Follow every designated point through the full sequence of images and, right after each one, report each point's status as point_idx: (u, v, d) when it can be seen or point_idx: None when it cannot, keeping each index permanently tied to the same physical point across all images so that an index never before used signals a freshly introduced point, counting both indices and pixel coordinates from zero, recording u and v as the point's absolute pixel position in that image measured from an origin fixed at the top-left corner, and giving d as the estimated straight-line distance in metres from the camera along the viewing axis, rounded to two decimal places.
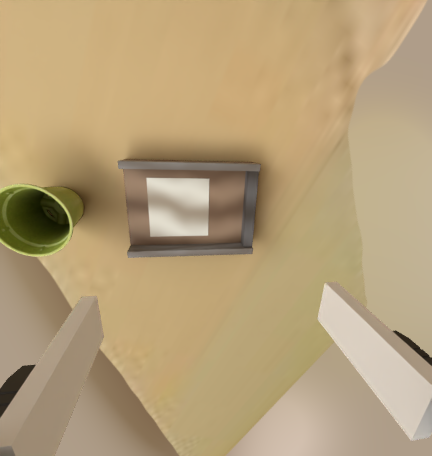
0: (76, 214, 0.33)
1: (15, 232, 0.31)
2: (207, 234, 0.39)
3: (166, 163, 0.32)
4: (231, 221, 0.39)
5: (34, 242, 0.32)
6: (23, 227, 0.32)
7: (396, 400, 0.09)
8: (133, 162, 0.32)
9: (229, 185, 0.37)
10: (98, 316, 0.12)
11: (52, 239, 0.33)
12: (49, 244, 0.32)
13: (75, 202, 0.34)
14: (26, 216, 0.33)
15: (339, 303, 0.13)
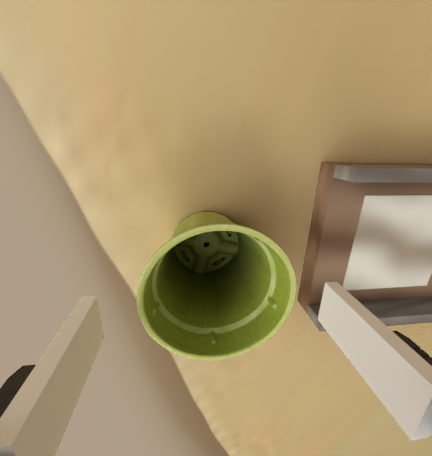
0: (257, 265, 0.18)
1: (166, 310, 0.16)
2: (425, 284, 0.24)
3: None
4: None
5: (194, 324, 0.17)
6: (170, 294, 0.17)
7: (396, 400, 0.09)
8: (383, 170, 0.16)
9: None
10: (98, 316, 0.12)
11: (216, 313, 0.18)
12: (220, 325, 0.17)
13: None
14: (166, 270, 0.18)
15: (339, 303, 0.13)
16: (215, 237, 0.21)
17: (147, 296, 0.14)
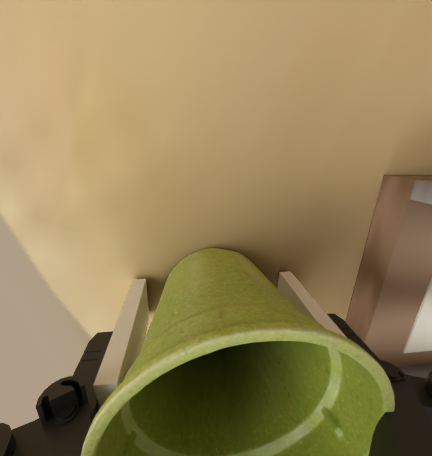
0: (297, 340, 0.11)
1: (149, 438, 0.09)
2: None
3: None
4: None
5: (198, 449, 0.10)
6: (157, 396, 0.10)
7: None
8: None
9: None
10: (146, 297, 0.14)
11: (232, 418, 0.11)
12: (241, 448, 0.10)
13: None
14: None
15: (288, 290, 0.14)
16: None
17: (107, 448, 0.07)
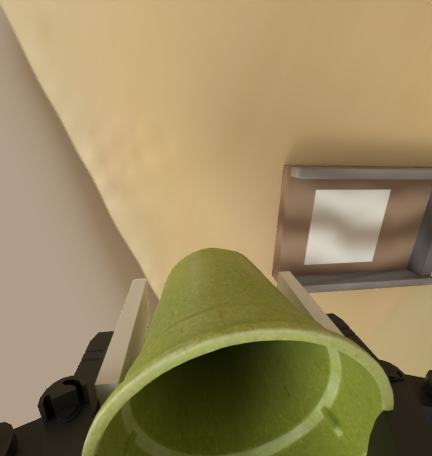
0: (296, 340, 0.11)
1: (149, 437, 0.09)
2: (370, 260, 0.31)
3: (361, 170, 0.24)
4: (402, 243, 0.31)
5: (198, 448, 0.10)
6: (158, 396, 0.10)
7: None
8: (322, 170, 0.23)
9: (411, 197, 0.29)
10: (147, 296, 0.14)
11: (232, 418, 0.11)
12: (241, 447, 0.10)
13: None
14: None
15: (287, 290, 0.14)
16: None
17: (108, 447, 0.07)
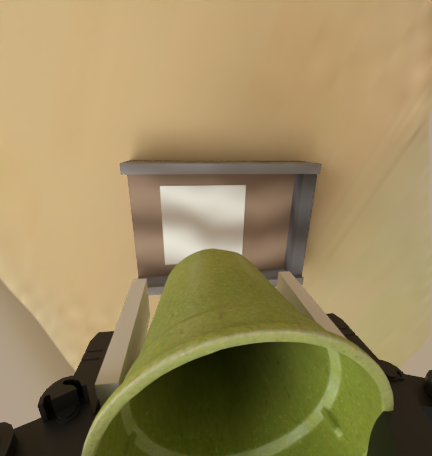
0: None
1: (149, 438, 0.09)
2: None
3: (189, 165, 0.22)
4: (273, 241, 0.29)
5: (198, 449, 0.10)
6: (157, 397, 0.10)
7: None
8: (142, 164, 0.22)
9: (272, 193, 0.27)
10: (147, 296, 0.14)
11: (232, 419, 0.11)
12: (241, 448, 0.10)
13: None
14: None
15: (287, 290, 0.14)
16: None
17: (108, 449, 0.07)
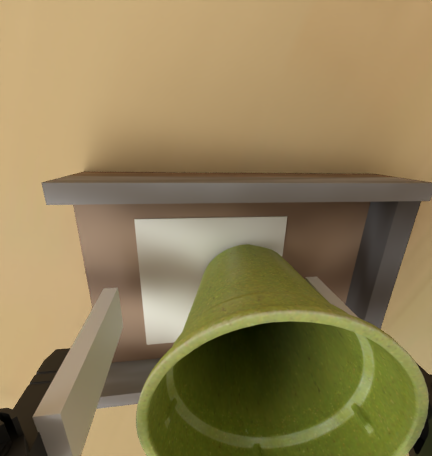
0: (329, 338, 0.12)
1: (186, 408, 0.10)
2: None
3: (189, 186, 0.11)
4: None
5: (229, 427, 0.11)
6: (194, 374, 0.11)
7: None
8: (91, 185, 0.11)
9: (330, 229, 0.16)
10: (119, 307, 0.13)
11: (261, 405, 0.12)
12: (269, 433, 0.11)
13: None
14: None
15: None
16: None
17: (156, 405, 0.08)
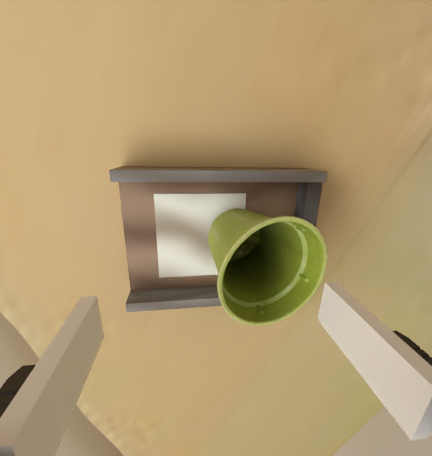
0: (285, 251, 0.23)
1: (224, 289, 0.19)
2: None
3: (185, 172, 0.21)
4: None
5: (242, 300, 0.20)
6: None
7: (396, 400, 0.09)
8: (134, 171, 0.20)
9: (274, 202, 0.25)
10: (98, 316, 0.12)
11: (255, 291, 0.22)
12: (262, 299, 0.21)
13: None
14: (213, 258, 0.21)
15: (339, 303, 0.13)
16: None
17: None
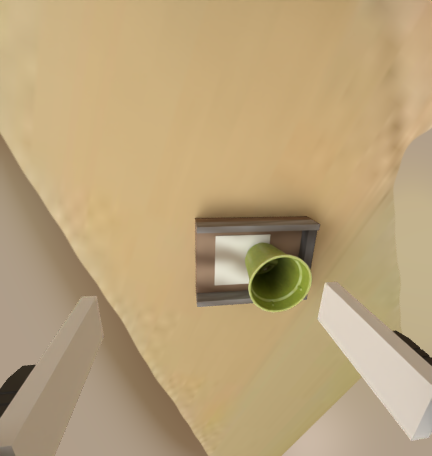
0: (291, 271, 0.38)
1: (252, 290, 0.35)
2: None
3: (238, 227, 0.36)
4: None
5: (262, 297, 0.36)
6: (251, 283, 0.36)
7: (396, 400, 0.09)
8: (210, 227, 0.35)
9: (287, 239, 0.41)
10: (98, 316, 0.12)
11: (271, 293, 0.37)
12: (274, 298, 0.36)
13: None
14: None
15: (339, 303, 0.13)
16: None
17: None
